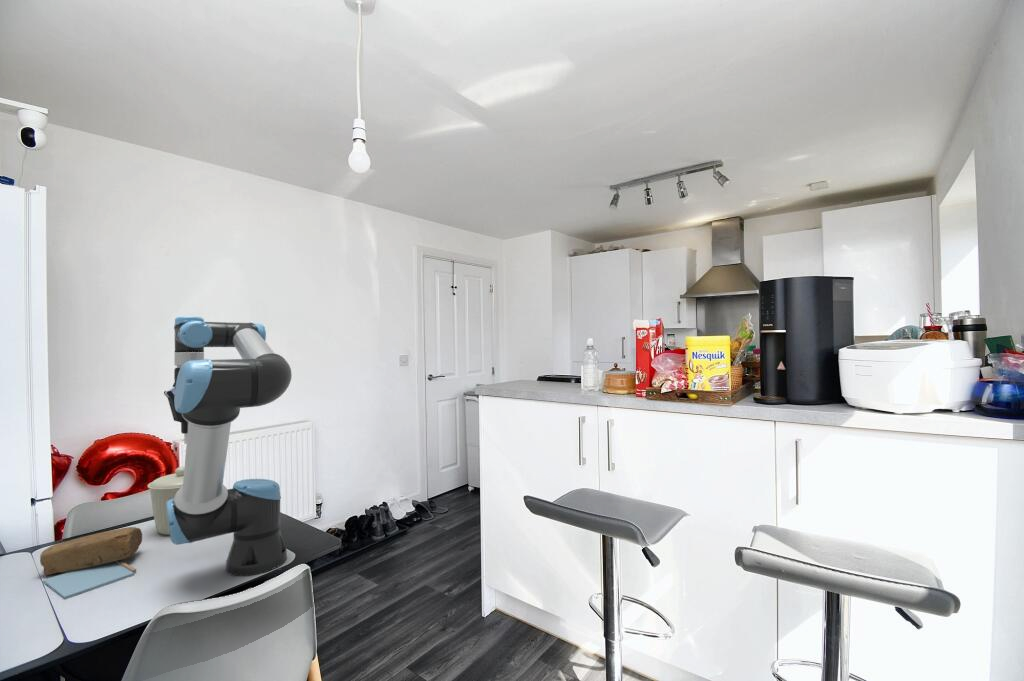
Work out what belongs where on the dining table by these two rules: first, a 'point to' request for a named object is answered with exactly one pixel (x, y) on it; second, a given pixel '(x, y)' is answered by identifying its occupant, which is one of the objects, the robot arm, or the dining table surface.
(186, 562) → the dining table surface
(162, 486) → the canister
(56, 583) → the book
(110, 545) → the pitted brown rock
